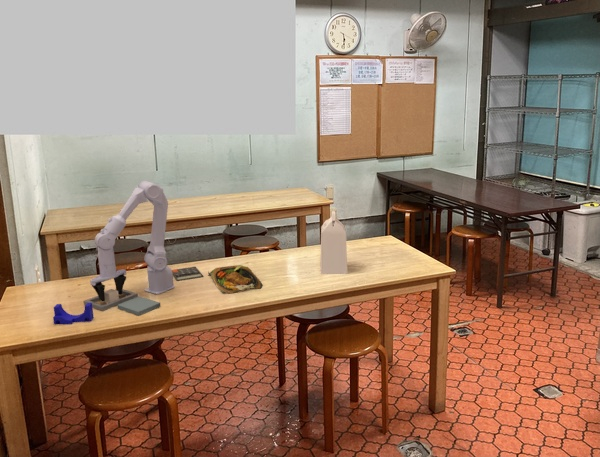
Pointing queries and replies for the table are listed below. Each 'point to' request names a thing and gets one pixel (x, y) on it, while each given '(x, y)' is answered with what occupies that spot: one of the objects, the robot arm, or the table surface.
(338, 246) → the milk
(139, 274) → the table surface
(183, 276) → the calculator
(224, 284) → the prepared meal
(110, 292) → the cream block
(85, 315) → the cable clip
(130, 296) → the pocket frame
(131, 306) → the slate pad
